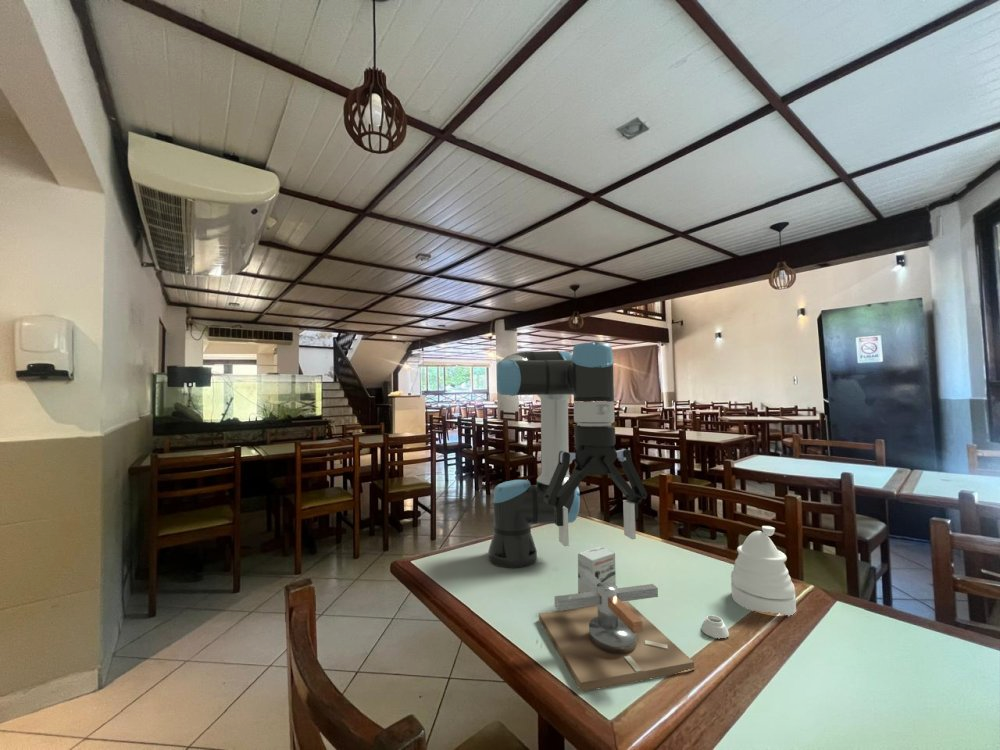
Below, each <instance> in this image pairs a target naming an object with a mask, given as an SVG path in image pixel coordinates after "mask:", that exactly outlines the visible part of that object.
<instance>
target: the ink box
mask: <svg viewBox="0 0 1000 750" xmlns="http://www.w3.org/2000/svg"><path fill="white" fill-rule="evenodd" d="M583 569H588V570H589V571H590V572H591V573H592V574H593V575H594V576H595V577H596V578H597V579H598V580H599V581H601V582H610V583H613V584H615V585H616V584H617V582H616V581H617V579H616V577H617V576H616V575H617V573H616V552H614V551H612V550H610V549H607V548H604V546H600V545H599V546H596V547H592V548H590V549H587V550H583V551H581V552H578V553H577V593H585V592H593V591H592V590H591V588H590V587H589V586H588V585H587V584H586V583H585V582H584V581H583V580H582V579H581V578H580V570H583ZM616 586H617V585H616ZM595 606H597V605H595ZM587 607H590V606H587Z"/></svg>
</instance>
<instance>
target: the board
mask: <svg viewBox="0 0 1000 750" xmlns="http://www.w3.org/2000/svg"><path fill="white" fill-rule="evenodd" d="M623 603H624V604H625V605H626V606H627V607H628V608H629V609H630V610H631V611H632V612H633V613H634V614H635V615H636V616H637V617H639V618H640V619H641V620H642V626H643V632H638V633H637V645H636V647H635V648H634V649H633V650H632V651H629V652H626V653H612V652H608V651H605V650H602V649H600V648H599V647H597V646H596V645H594V644H593V643H592V641H591V640H590V637H589V623H590V621H591V620H592V619H593V618H595V617H598V610H597V606H590V607H580V608H573V609H565V610H556V611H554V610H553V611H547V612H540V613H538V620H539V621H538V622H539V623H540V625H541V626H542V628H543V629H544V631H545V633H546V635H547V637H548V638H549V639H550V641H551V644H552V645H553V647H554V649H555V650H556V652H557V653H558V655H559V657H560V659H561V661H562V662H563V664H564V665H565V667H566V668H567V671H568V672H569V675H571V678H572V679H573V681H574V683H575V685H576V686H577V688H578V687H579V688H578V689H580V690H579V691H580V693H583V692H582V691H584V692H588V691H587V690H590V691H594V690H593V689H595V690H599V689H598V688H600V689H604V688H603V687H606V688H611V687H615V686H621V685H627V684H630V683H636V681H637V682H641V680H643V681H646V680H647V679H648V680H651V679H650V678H653V679H656V678H657V677H659V678H662V676H663V677H667V675H669V676H672V675H671V674H675V673H678V672H681V671H684V670H688V669H692V668H694V669H695V662H694V660H692V659H691V658H690V657H689V656H688V655H687V653H685V652H684V651H683V650H681V648H680V647H679V646H677V645H676V644H675V643H674V642H673V641H672V640H671V639H670V638H669V637H667V636H666V635H665V634H664V633H663V632H662V631H661V630H659V628H658V627H656V626H655V624H653V623H652V622H651V621H650V620H649V619H648V618H647V617H646V616H644V615H643V613H641V611H639V610H638V609H637V608H636V607H635V606H634V605H632V603H630V601H624V602H623ZM675 675H676V674H675ZM657 679H658V678H657ZM610 686H611V687H610Z"/></svg>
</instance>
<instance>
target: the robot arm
mask: <svg viewBox="0 0 1000 750" xmlns="http://www.w3.org/2000/svg"><path fill="white" fill-rule="evenodd" d="M614 364H615V361H614V355H613V348H612V345H610V344H609V343H607V342H598V341H597V342H584V343H583V342H582V343H578V344H576V345H574V346H573V348H572V353H571V352H570V351H563V350H562V351H561V350H551V351H550V350H549V351H548V350H547V351H545V350H543V351H540V350H539V351H520V352H516V353H512V354H510V355H507V356H505V357H504V358H503V359H501V360H500V361H498V362H497V364H496V392H497V393H498V394H499V395H501V396H509V397H510V396H512V397H513V396H536V395H537V396H538V397H539V399H540V434H541V435H540V436H541V437H540V440H541V442H540V444H541V445H540V446H541V447H540V450H541V456H540V457H541V460H540V461H541V473H540V475H539V476H538V477H537V478H536V484H531V481H530V480H528V479H513V480H512V479H511V480H509V481H508V480H507V481H503V482H502V483H499V484H497V485H496V486H495V487H494V489H493V499H492V503H493V534H492V538H491V542H490V544H489V548H488V555H487V556H488V561H489V562H490V563H492V564H493V565H495V566H499V567H503V568H510V569H511V568H512V569H513V568H517V569H518V568H523V567H528V566H531V565H533V564H534V563H536V562H537V559H538V554H537V553H538V550H537V547H536V545H535V542H534V538H533V535H532V529H531V528H532V526H531V525H534V524H535V525H537V524H539V525H541V524H548V525H549V524H554V525H556V526H557V527H558V542H559V543H560V544H561V545H563V546H564V547H569V544H570V543H569V539H570V538H569V537H570V536H569V524H570V523H571V524H572V523H573V522H575V521H576V519H577V518H578V515H579V512H580V504H581V497H580V488H579V485H580V483H581V482H582V480H584V479H585V478H586V477H587V476H596V475H602V476H606V475H608V477H609V478H610V479H611V480H612V481H613V483H614V484H615V485H616V486H617V488H618V489H619V490H620V492H621V493H622V494H623V495H624V497H625V498H626V499H623V500H622V503H623V504H622V506H623V507H622V509H623V510H622V511H623V513H622V514H623V533H624V534H623V535H624V536H626V537H627V538H629V539H631V540H636V538H637V537H636V534H637V533H636V520H638V518H639V504H641V503H642V500H643V499H647V497H648V493H647V490H646V488H645V486H644V484H643V482H642V480H641V477H640V476H639V473H638V471H637V469H636V466H635V465H634V462H633V460H632V459H633V458H632V452H631V450H630V449H626V448H619V449H618V450H616V427H615V426H614V425H612V424H613V423H615V422H616V421H615V418H616V417H615V402H614V401H615V394H614V393H615V391H614V390H615V387H614V386H615V385H614V384H615V383H614ZM571 396H573V422H574V423H575V424H576V425H575V426H574V434H573V435H574V447H575V448H574V451H573V452H569V398H571ZM616 460H618V461H619V462H620V466H621V468H622V469H623V472H624V474H625V476H626V478H627V480H628V481H626V479H625V478H624V477H623V476H622V475H621V473H620V471H619V469H618V468H617V467H616V466H615V464H614V463H615V461H616ZM573 461H575V463H576V464H575V466H574V468H573V469H572V471H571V474H570V473H569V472H570V469H569V468H570V465H571V464H572V463H573ZM628 482H629V483H628Z"/></svg>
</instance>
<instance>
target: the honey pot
mask: <svg viewBox="0 0 1000 750" xmlns="http://www.w3.org/2000/svg"><path fill="white" fill-rule="evenodd" d="M761 529H762V531H761V530H754V531H752V532H750V534H749V535H748V536H747V537H745V538H746V539H745V540H744V542H743V544H741V545H739V546H737V549H736V551H737V552H738V555H737V558H735V559H734V561H735V562H734V564H733V568H732V569H733V570H731V574H730V581H731V582H730V587H731V598H732V600H733V601H734V602H735V603H736V604H737V603H738V605H739V606H740V605H741V606H740V607H742V608H744V607H745V608H744V609H746V608H748V609H750V610H756V611H762V612H771V613H780V614H785V615H788V617H791V616H790V615H792V616H794V615H795V614H796V613H797V601H796V587H795V585H794V583H793V582H792V578H791V576H790V574H789V570H788V568H787V567H786V565H785V562H786V561H788V560H787V559H788V557H787V555H786V554H785V553H784V552H782V551H781V550H779V549H777V547H776V545H775V544H774V542H773V541H772V539H771V538H770V537H771V536H773V535H774V534H775V531H776V528H775V527H773V526H771V525H762V526H761ZM748 609H747V610H748ZM750 610H749V611H750ZM795 612H796V613H795ZM794 613H795V614H794ZM793 614H794V615H793Z"/></svg>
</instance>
